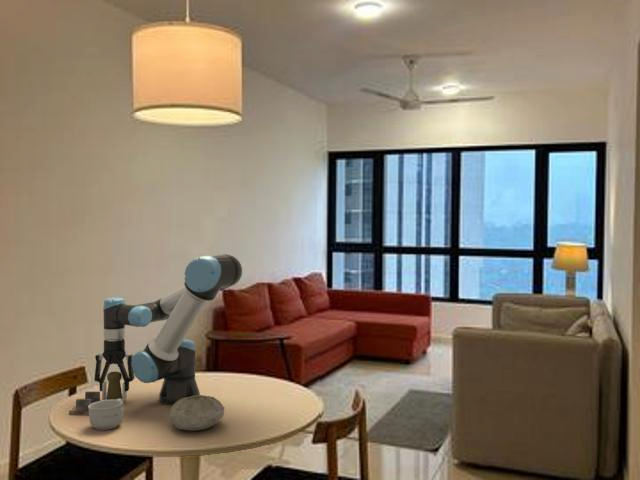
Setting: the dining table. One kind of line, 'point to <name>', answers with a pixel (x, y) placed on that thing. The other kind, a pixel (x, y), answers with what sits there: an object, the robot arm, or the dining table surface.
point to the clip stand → (85, 403)
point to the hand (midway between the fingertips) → (114, 399)
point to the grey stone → (196, 412)
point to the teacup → (106, 413)
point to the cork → (114, 386)
